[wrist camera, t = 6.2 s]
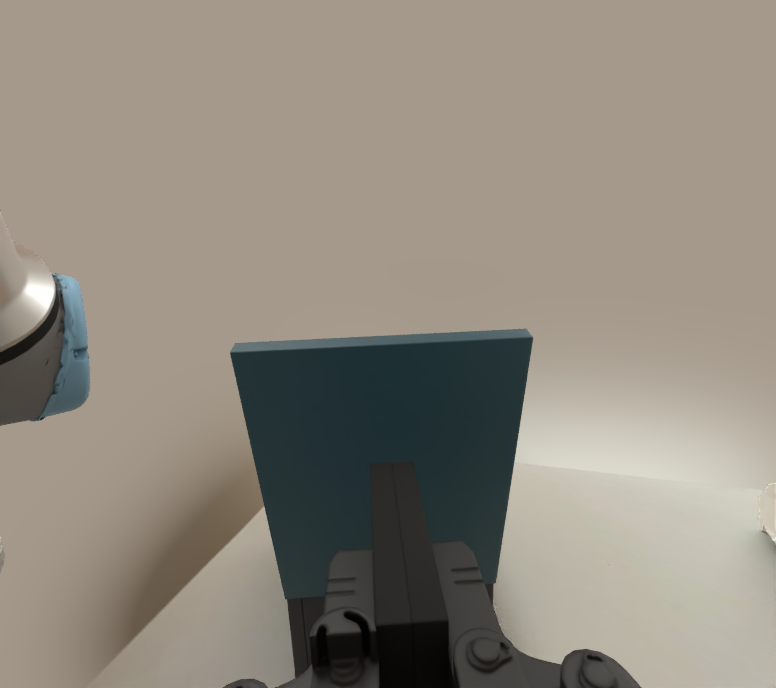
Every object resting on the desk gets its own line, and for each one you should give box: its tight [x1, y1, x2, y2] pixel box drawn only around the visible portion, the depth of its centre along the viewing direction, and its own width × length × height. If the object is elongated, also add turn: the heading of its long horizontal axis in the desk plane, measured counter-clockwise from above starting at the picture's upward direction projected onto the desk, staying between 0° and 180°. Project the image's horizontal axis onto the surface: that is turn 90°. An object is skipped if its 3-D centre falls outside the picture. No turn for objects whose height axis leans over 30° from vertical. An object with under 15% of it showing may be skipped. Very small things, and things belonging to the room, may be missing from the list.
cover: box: [230, 329, 533, 599], centre depth 20 cm, size 15×12×1 cm
